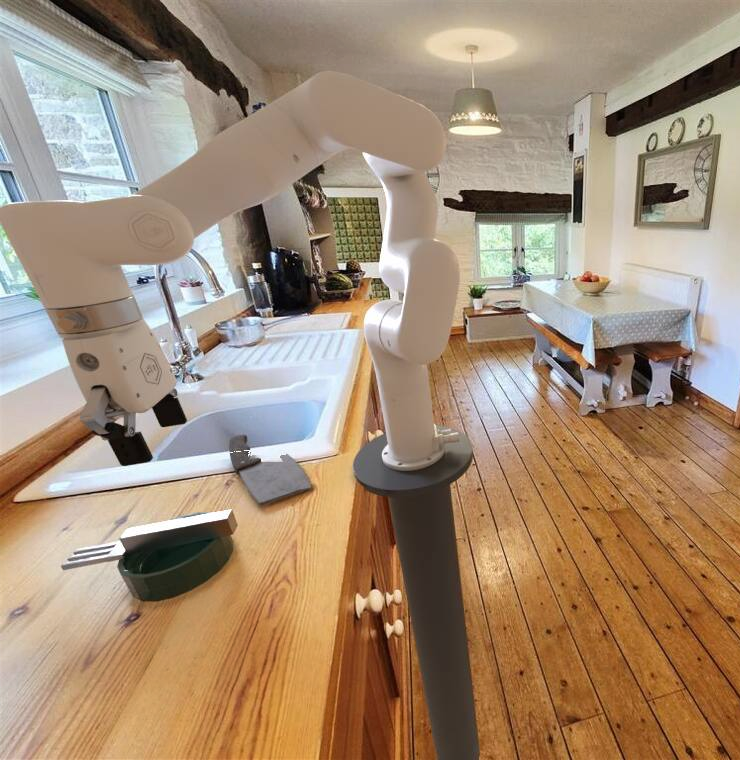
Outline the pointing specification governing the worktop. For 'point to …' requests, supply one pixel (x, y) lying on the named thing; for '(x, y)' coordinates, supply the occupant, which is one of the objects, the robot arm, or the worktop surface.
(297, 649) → the worktop surface
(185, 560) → the bowl
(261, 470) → the cleaver
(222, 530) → the fork
